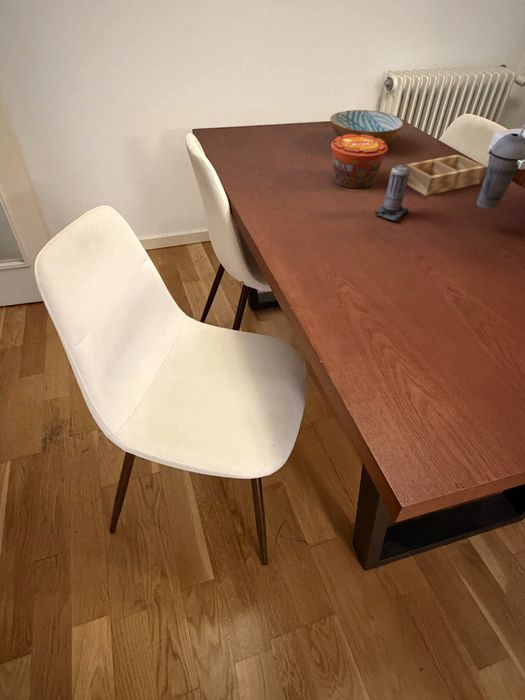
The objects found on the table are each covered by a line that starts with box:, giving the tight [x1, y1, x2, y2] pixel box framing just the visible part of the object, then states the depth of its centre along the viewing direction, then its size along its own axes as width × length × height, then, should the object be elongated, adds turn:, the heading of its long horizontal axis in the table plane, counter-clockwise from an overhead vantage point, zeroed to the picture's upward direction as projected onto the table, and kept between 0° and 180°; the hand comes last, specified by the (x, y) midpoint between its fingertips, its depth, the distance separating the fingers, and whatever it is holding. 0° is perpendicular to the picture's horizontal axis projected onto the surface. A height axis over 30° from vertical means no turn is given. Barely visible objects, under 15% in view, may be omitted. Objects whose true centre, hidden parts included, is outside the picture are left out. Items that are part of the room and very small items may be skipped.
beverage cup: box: [476, 123, 525, 210], centre depth 89 cm, size 7×7×20 cm
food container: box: [330, 134, 389, 190], centre depth 117 cm, size 16×16×11 cm
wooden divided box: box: [404, 154, 486, 197], centre depth 119 cm, size 21×11×5 cm, turn 115°
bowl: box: [329, 109, 405, 145], centre depth 141 cm, size 25×25×8 cm
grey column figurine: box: [374, 164, 410, 223], centre depth 101 cm, size 9×8×12 cm
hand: (503, 157), depth 88 cm, fingers closed on beverage cup, 7 cm apart
